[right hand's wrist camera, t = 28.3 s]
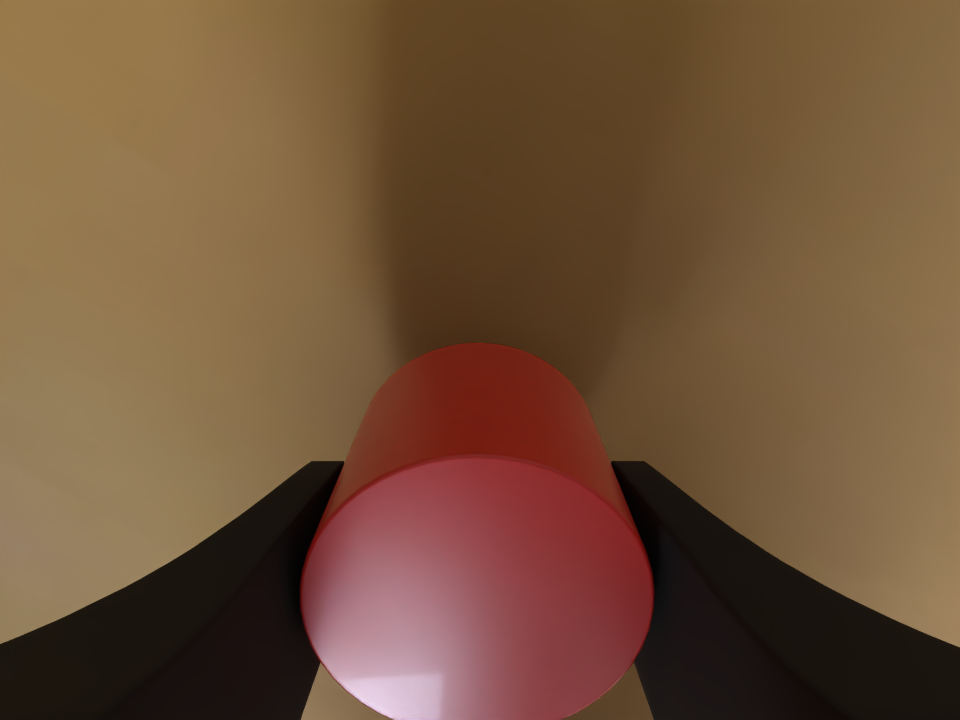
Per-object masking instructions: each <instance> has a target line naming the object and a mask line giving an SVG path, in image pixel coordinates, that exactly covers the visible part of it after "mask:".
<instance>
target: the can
mask: <svg viewBox="0 0 960 720" xmlns="http://www.w3.org/2000/svg"><path fill="white" fill-rule="evenodd" d="M299 590H300V609H301V614H302V619H303V623H304V628H305V631H306V633H307V636H308V639H309V641H310V644H311V646H312V648H313V650H314V651H315V653H316V655H317V657H318V659H319V660H320V662H321V663H322V665H323V666H324V667H325V668H326V670H327V671H328V672H329V674H330V675H331V676H332V677H333V678H334V679H335V680H336V681H337V682H338V683H339V684H340V685H341V686H342V687H343V688H344V689H345V690H346V691H347V692H348V693H350V694H351V695H352V696H353V697H355V698H356V699H357V700H359V701H360V702H361V703H363V704H364V705H366V706H368V707H369V708H371V709H373V710H374V711H376V712H377V713H380V714H382V715H384V716H386V717H388V718H390V719H392V720H562V719H564V718H566V717H568V716H571V715H573V714H575V713H577V712H578V711H580V710H582V709H583V708H585V707H587V706H588V705H590V704H592V703H593V702H594V701H596V700H597V699H598V698H600V697H601V696H602V695H603V694H605V693H606V692H607V691H609V690H610V689H611V688H612V687H613V686H614V685H615V684H616V683H617V682H618V681H619V680H620V679H621V678H622V677H623V675H624V674H625V673H626V671H627V670H628V669H629V667H630V666H631V665H632V664H633V662H634V661H635V659H636V657H637V655H638V654H639V652H640V650H641V648H642V646H643V644H644V642H645V639H646V636H647V634H648V631H649V628H650V624H651V619H652V615H653V610H654V593H655V589H654V581H653V572H652V568H651V565H650V561H649V558H648V554H647V552H646V549H645V547H644V544H643V542H642V539H641V537H640V534H639V532H638V529H637V527H636V524H635V522H634V520H633V517H632V515H631V512H630V510H629V507H628V505H627V502H626V500H625V497H624V495H623V493H622V490H621V488H620V485H619V483H618V480H617V478H616V475H615V473H614V470H613V468H612V465H611V463H610V461H609V458H608V456H607V453H606V451H605V448H604V446H603V443H602V441H601V438H600V436H599V433H598V431H597V429H596V426H595V424H594V421H593V419H592V416H591V414H590V412H589V410H588V407H587V405H586V403H585V401H584V400H583V398H582V397H581V395H580V394H579V392H578V391H577V389H576V388H575V387H574V386H573V385H572V383H571V382H570V381H569V380H568V379H567V378H566V377H565V376H564V375H563V374H562V373H560V372H559V371H558V370H557V369H556V368H555V367H553V366H551V365H550V364H548V363H547V362H545V361H544V360H542V359H540V358H538V357H536V356H534V355H532V354H530V353H528V352H525V351H522V350H519V349H516V348H513V347H509V346H504V345H498V344H490V343H465V344H457V345H452V346H446V347H443V348H440V349H437V350H433V351H430V352H428V353H426V354H424V355H421V356H419V357H417V358H415V359H413V360H412V361H410V362H409V363H407V364H406V365H404V366H402V367H401V368H400V369H399V370H398V371H396V372H395V373H394V374H393V375H392V376H390V377H389V378H388V380H387V381H386V382H385V383H384V384H383V385H382V386H381V387H380V389H379V390H378V392H377V393H376V395H375V396H374V398H373V399H372V401H371V403H370V405H369V407H368V409H367V411H366V413H365V415H364V418H363V420H362V422H361V425H360V427H359V430H358V432H357V434H356V437H355V439H354V442H353V444H352V446H351V449H350V451H349V454H348V456H347V458H346V461H345V463H344V465H343V468H342V470H341V473H340V475H339V477H338V480H337V482H336V485H335V487H334V489H333V492H332V494H331V496H330V499H329V501H328V504H327V506H326V508H325V511H324V513H323V516H322V518H321V520H320V523H319V525H318V528H317V530H316V532H315V535H314V537H313V539H312V542H311V544H310V547H309V549H308V551H307V554H306V558H305V561H304V565H303V568H302V573H301V581H300V589H299Z"/></svg>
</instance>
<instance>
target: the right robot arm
mask: <svg viewBox="0 0 960 720" xmlns="http://www.w3.org/2000/svg"><path fill="white" fill-rule="evenodd" d="M343 465H344V461H311V462H310V463H308V464H307V465H305V466H304V467H303V468H301V469H300V470H299V471H297V472H296V473H295V474H293V475H292V476H291V477H289V478H288V479H287V480H286V481H284V482H283V483H282V484H281V485H279V486H278V487H277V488H275V489H274V490H273V491H272V492H270V493H269V494H268V495H266V496H265V497H264V498H262V499H261V500H260V501H258V502H257V503H256V504H255V505H253V506H252V507H251V508H249V509H248V510H247V511H245V512H244V513H243V514H241V515H240V516H239V517H237V518H236V519H234V520H233V521H231V522H230V523H228V524H227V525H226V526H224V527H223V528H221V529H220V530H218V531H217V532H215V533H214V534H212V535H211V536H210V537H208V538H207V539H205V540H204V541H202V542H201V543H199V544H198V545H197V546H195V547H193V548H192V549H190V550H189V551H187V552H186V553H184V554H182V555H181V556H179V557H178V558H176V559H174V560H173V561H171V562H169V563H168V564H166V565H164V566H162V567H161V568H159V569H157V570H155V571H154V572H152V573H150V574H148V575H147V576H145V577H143V578H141V579H140V580H138V581H136V582H134V583H132V584H130V585H128V586H127V587H125V588H123V589H121V590H119V591H116V592H114V593H112V594H110V595H108V596H106V597H104V598H102V599H100V600H98V601H96V602H94V603H92V604H90V605H88V606H86V607H84V608H82V609H80V610H78V611H76V612H74V613H72V614H70V615H68V616H66V617H63V618H61V619H59V620H57V621H54V622H52V623H50V624H47V625H45V626H43V627H41V628H38V629H36V630H34V631H31V632H29V633H27V634H24V635H22V636H20V637H17V638H15V639H12V640H10V641H7V642H5V643H2V644H0V720H301V717H302V713H303V711H304V708H305V705H306V702H307V699H308V696H309V694H310V691H311V688H312V685H313V682H314V679H315V676H316V674H317V671H318V668H319V665H320V660H319V659H318V657H317V655H316V653H315V651H314V650H313V648H312V646H311V644H310V641H309V639H308V636H307V633H306V631H305V628H304V623H303V619H302V614H301V609H300V590H299V589H300V581H301V573H302V568H303V565H304V561H305V558H306V554H307V551H308V549H309V547H310V544H311V542H312V539H313V537H314V535H315V532H316V530H317V528H318V525H319V523H320V520H321V518H322V516H323V513H324V511H325V508H326V506H327V504H328V501H329V499H330V496H331V494H332V492H333V489H334V487H335V485H336V482H337V480H338V477H339V475H340V473H341V470H342V468H343ZM611 465H612V468H613V470H614V473H615V475H616V478H617V480H618V483H619V485H620V488H621V490H622V493H623V495H624V497H625V500H626V502H627V505H628V507H629V510H630V512H631V515H632V517H633V520H634V522H635V524H636V527H637V529H638V532H639V534H640V537H641V539H642V542H643V544H644V547H645V549H646V552H647V554H648V558H649V561H650V565H651V568H652V572H653V581H654V589H655V593H654V610H653V615H652V619H651V624H650V628H649V631H648V634H647V636H646V639H645V642H644V644H643V646H642V648H641V650H640V652H639V654H638V655H637V657H636V659H635V661H634V663H635V666H636V669H637V672H638V675H639V678H640V680H641V683H642V686H643V689H644V692H645V695H646V698H647V701H648V704H649V707H650V710H651V713H652V716H653V719H654V720H960V647H957V646H955V645H952V644H950V643H947V642H945V641H942V640H940V639H937V638H935V637H932V636H930V635H927V634H925V633H923V632H921V631H918V630H916V629H914V628H911V627H909V626H907V625H905V624H902V623H900V622H898V621H895V620H893V619H891V618H889V617H887V616H885V615H883V614H881V613H879V612H877V611H874V610H872V609H870V608H868V607H866V606H864V605H862V604H860V603H858V602H856V601H854V600H852V599H850V598H847V597H846V596H844V595H842V594H840V593H838V592H836V591H834V590H832V589H830V588H828V587H826V586H824V585H823V584H821V583H819V582H817V581H816V580H814V579H812V578H810V577H809V576H807V575H805V574H803V573H802V572H800V571H798V570H796V569H795V568H793V567H791V566H789V565H788V564H786V563H784V562H783V561H781V560H779V559H778V558H776V557H774V556H773V555H771V554H770V553H768V552H766V551H765V550H763V549H762V548H760V547H759V546H757V545H756V544H754V543H753V542H752V541H750V540H749V539H747V538H746V537H744V536H743V535H741V534H740V533H738V532H737V531H735V530H734V529H732V528H731V527H730V526H728V525H727V524H725V523H724V522H723V521H721V520H720V519H719V518H717V517H716V516H714V515H713V514H712V513H710V512H709V511H708V510H707V509H705V508H704V507H703V506H701V505H700V504H699V503H697V502H696V501H695V500H693V499H692V498H691V497H690V496H688V495H687V494H686V493H685V492H683V491H682V490H681V489H680V488H678V487H677V486H676V485H674V484H673V483H672V482H671V481H669V480H668V479H667V478H666V477H664V476H663V475H662V474H661V473H659V472H658V471H657V470H655V469H654V468H653V467H651V466H650V465H649V464H647V463H646V462H644V461H611Z"/></svg>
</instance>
